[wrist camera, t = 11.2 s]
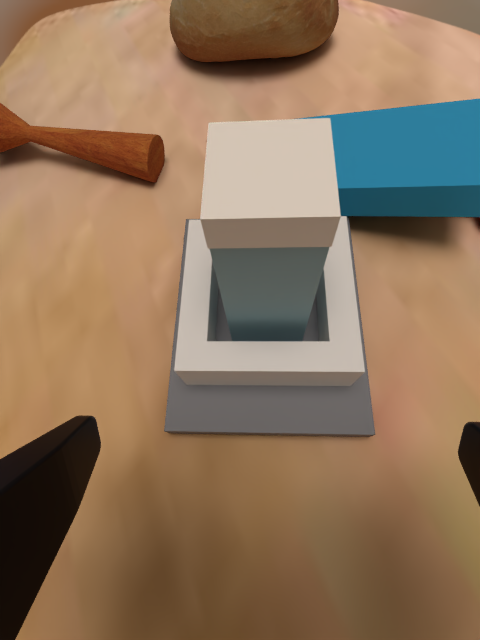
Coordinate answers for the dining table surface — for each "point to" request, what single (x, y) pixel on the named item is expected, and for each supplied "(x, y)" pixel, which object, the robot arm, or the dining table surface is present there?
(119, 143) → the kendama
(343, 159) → the blue long block
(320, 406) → the board
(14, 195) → the dining table surface
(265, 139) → the box with white lid
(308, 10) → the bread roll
